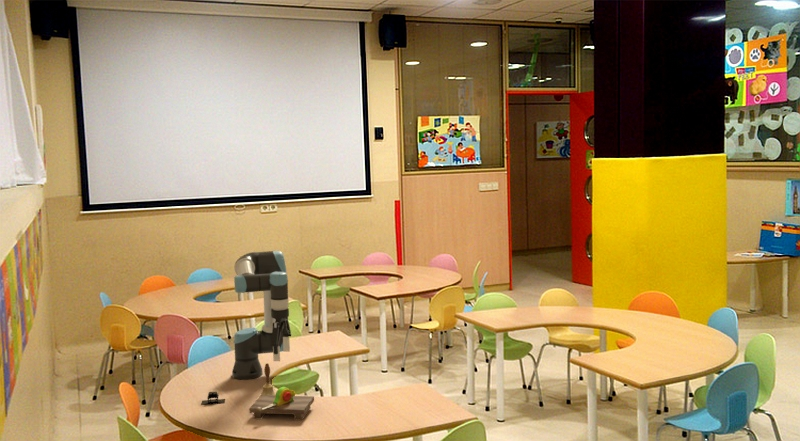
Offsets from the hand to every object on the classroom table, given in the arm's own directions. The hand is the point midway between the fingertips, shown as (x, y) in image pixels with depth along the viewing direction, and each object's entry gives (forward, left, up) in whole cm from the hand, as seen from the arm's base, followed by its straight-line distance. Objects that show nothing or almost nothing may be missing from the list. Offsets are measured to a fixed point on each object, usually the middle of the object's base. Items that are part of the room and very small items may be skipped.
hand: (281, 356), depth 309 cm
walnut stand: (+2, 0, -25) cm, 25 cm away
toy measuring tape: (+5, -1, -20) cm, 21 cm away
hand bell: (-17, -13, -25) cm, 33 cm away
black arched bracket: (-9, -36, -26) cm, 46 cm away
